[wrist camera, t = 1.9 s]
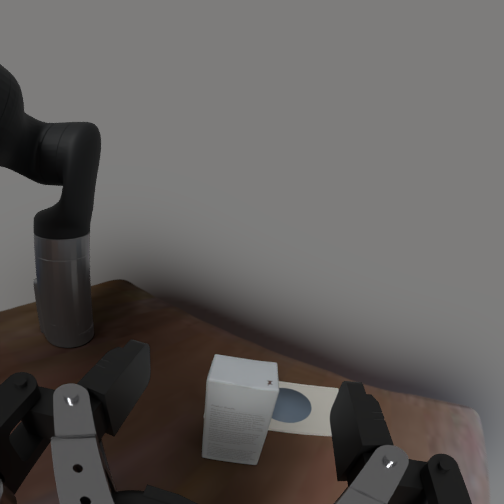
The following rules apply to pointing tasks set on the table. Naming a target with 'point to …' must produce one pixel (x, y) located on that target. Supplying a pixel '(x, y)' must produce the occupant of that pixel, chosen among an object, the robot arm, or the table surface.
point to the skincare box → (238, 408)
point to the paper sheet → (303, 409)
